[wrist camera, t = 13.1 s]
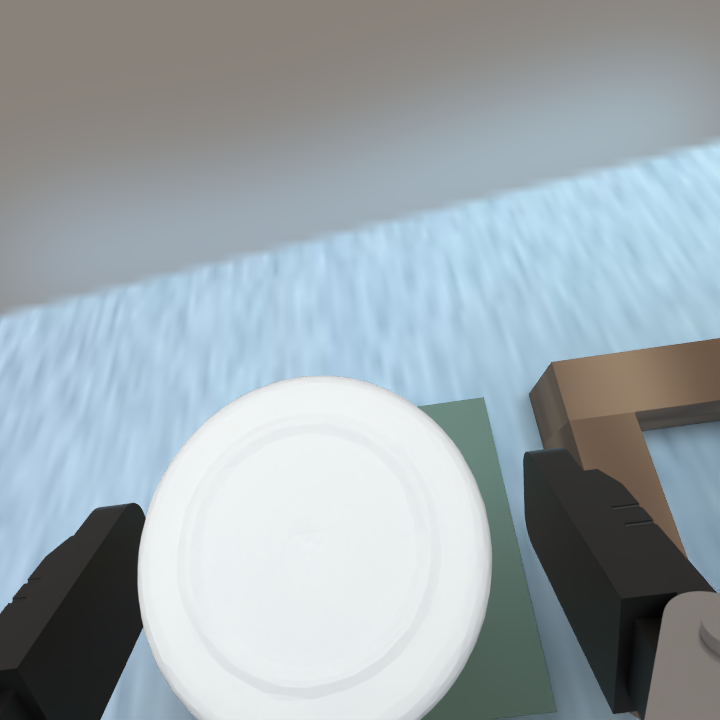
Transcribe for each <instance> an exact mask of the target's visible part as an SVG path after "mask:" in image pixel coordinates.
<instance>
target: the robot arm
mask: <svg viewBox="0 0 720 720" xmlns="http://www.w3.org/2000/svg"><path fill="white" fill-rule="evenodd" d="M523 467H524V506H525V520H526V526H527V530H528V534H529V538H530V541H531V543H532V546H533V548H534V550H535V552H536V554H537V556H538V558H539V560H540V562H541V565H542V567H543V569H544V571H545V573H546V575H547V577H548V579H549V581H550V583H551V585H552V587H553V590H554V592H555V594H556V596H557V598H558V600H559V602H560V604H561V606H562V608H563V610H564V612H565V615H566V617H567V619H568V621H569V623H570V625H571V627H572V629H573V631H574V633H575V635H576V637H577V640H578V642H579V644H580V646H581V648H582V650H583V652H584V654H585V656H586V658H587V660H588V662H589V665H590V667H591V669H592V671H593V673H594V675H595V677H596V679H597V681H598V683H599V685H600V687H601V690H602V692H603V694H604V696H605V698H606V700H607V702H608V704H609V706H610V708H611V710H612V712H613V714H616V713H625V712H635V711H637V712H638V714H639V716H640V718H641V720H720V594H719V593H717V592H716V591H715V590H714V589H713V588H712V587H711V586H710V585H709V583H708V582H707V581H706V580H705V579H704V578H703V576H702V575H701V574H700V573H699V572H698V571H697V570H696V568H695V567H694V566H693V565H692V564H691V563H690V561H689V560H688V559H687V558H686V557H685V556H684V554H683V553H682V552H681V551H680V550H679V549H678V548H677V546H676V545H675V544H674V543H673V542H672V541H671V539H670V538H669V537H668V536H667V535H666V534H665V532H664V531H663V530H662V529H661V528H660V527H659V526H658V524H654V521H653V519H652V517H651V516H650V515H649V514H648V513H647V512H646V510H645V509H644V508H643V507H640V506H639V502H638V501H637V500H636V499H635V498H634V497H633V495H632V494H631V493H630V492H629V491H628V490H627V488H626V487H625V486H624V485H623V484H622V483H620V482H619V481H617V480H615V479H614V478H612V477H610V476H609V475H607V474H605V473H604V472H602V471H600V470H599V469H592V470H584V471H583V469H582V468H581V467H580V466H579V464H578V463H577V462H576V460H575V459H574V458H573V456H572V455H571V454H570V453H569V451H568V450H567V449H566V448H564V447H560V448H552V449H545V450H537V451H530V452H526V453H525V454H524V459H523ZM145 520H146V518H145V515H144V513H143V511H142V509H141V507H140V506H139V505H138V504H136V503H130V504H122V505H115V506H107V507H100V508H96V509H95V510H94V511H93V512H92V513H91V514H90V515H89V516H88V518H87V519H86V520H85V522H84V523H83V524H82V526H81V527H80V528H79V529H78V531H77V532H76V533H75V535H74V536H71V537H69V538H68V539H67V540H66V541H64V542H63V543H62V544H61V545H60V546H58V547H57V548H56V549H55V550H53V551H52V552H51V553H50V554H48V555H47V556H46V557H45V558H44V560H43V561H42V562H41V563H40V565H39V566H38V567H37V568H36V570H35V571H34V572H33V573H32V575H31V576H30V577H29V578H28V583H27V584H24V585H23V586H22V587H21V588H20V590H19V591H18V592H17V593H16V595H15V596H14V597H13V598H12V599H13V602H12V603H8V605H7V606H6V607H5V608H4V610H3V611H2V612H1V613H0V720H100V719H101V717H102V715H103V713H104V711H105V708H106V706H107V704H108V702H109V700H110V698H111V695H112V693H113V691H114V689H115V687H116V685H117V682H118V680H119V678H120V676H121V674H122V672H123V669H124V667H125V665H126V663H127V661H128V659H129V656H130V654H131V652H132V650H133V648H134V646H135V643H136V641H137V639H138V637H139V635H140V633H141V630H142V628H143V622H142V618H141V611H140V604H139V596H138V556H139V547H140V541H141V535H142V531H143V528H144V524H145Z"/></svg>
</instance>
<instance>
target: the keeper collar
mask: <svg viewBox="0 0 720 720" xmlns="http://www.w3.org/2000/svg"><path fill="white" fill-rule="evenodd" d="M529 395H530V399H531V403H532V406H533V410H534V414H535V417H536V421H537V425H538V428H539V432H540V436H541V439H542V443H543V446H544V450H545V449H552V448H560V447H564V448H566V449H567V450H568V451H569V453H570V454H571V455H572V456H573V458H574V459H575V460H576V462H577V463H578V464H579V466H580V467H581V468H582V469H583V471H584V470H592V469H599V470H600V471H602V472H604V473H605V474H607V475H609V476H610V477H612V478H614V479H615V480H617V481H619V482H620V483H622V484H623V485H624V486H625V487H626V488H627V490H628V491H629V492H630V493H631V494H632V495H633V497H634V498H635V499H636V500H637V501H638V502H639V506H640V507H643V508H644V509H645V510H646V512H647V513H648V514H649V515H650V516H651V517H652V519H653V521H654V524H658V526H659V527H660V528H661V529H662V530H663V531H664V532H665V534H666V535H667V536H668V537H669V538H670V539H671V541H672V542H673V543H674V544H675V545H676V546H677V548H678V549H679V550H680V551H681V552H682V553H683V554H684V556H685V557H686V558H687V556H686V553H685V550H684V547H683V545H682V542H681V539H680V536H679V534H678V531H677V528H676V525H675V523H674V520H673V517H672V514H671V511H670V509H669V506H668V503H667V500H666V498H665V495H664V492H663V489H662V487H661V484H660V481H659V478H658V476H657V473H656V470H655V467H654V465H653V462H652V459H651V456H650V454H649V451H648V448H647V445H646V443H645V440H644V437H643V434H642V432H641V431H645V430H653V429H660V428H667V427H675V426H682V425H690V424H697V423H704V422H712V421H719V420H720V338H718V339H711V340H704V341H697V342H690V343H683V344H676V345H669V346H662V347H655V348H648V349H641V350H634V351H627V352H620V353H613V354H606V355H599V356H591V357H584V358H577V359H570V360H563V361H556V362H551V364H550V365H549V366H548V368H547V369H546V371H545V372H544V374H543V375H542V376H541V378H540V379H539V381H538V382H537V383H536V385H535V386H534V388H533V389H532V391H531V392H530V393H529ZM687 559H688V558H687ZM630 713H631V714H633V715H634V716H636V717H637V718H639V719H640V720H641V718H640V716H639V714H638V712H637V711H635V712H630Z"/></svg>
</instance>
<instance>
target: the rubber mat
mask: <svg viewBox="0 0 720 720" xmlns="http://www.w3.org/2000/svg"><path fill="white" fill-rule="evenodd" d="M418 408H419V409H420V410H422V411H423V412H425V413H426V414H427V415H428V416H429V417H430V418H432V419H433V420H434V421H435V422H436V423H437V424H438V425H439V426H440V427H441V428H442V429H443V430H444V432H445V433H446V434H447V435H448V436H449V437H450V439H451V440H452V441H453V442H454V444H455V445H456V446H457V448H458V449H459V450H460V452H461V454H462V455H463V457H464V459H465V461H466V463H467V465H468V467H469V468H470V470H471V472H472V474H473V476H474V478H475V480H476V482H477V485H478V488H479V491H480V493H481V496H482V499H483V502H484V504H485V509H486V514H487V519H488V524H489V529H490V537H491V545H492V577H491V586H490V594H489V599H488V604H487V609H486V615H485V619H484V622H483V625H482V627H481V630H480V633H479V636H478V639H477V642H476V644H475V646H474V648H473V650H472V652H471V654H470V656H469V658H468V660H467V662H466V664H465V666H464V668H463V670H462V671H461V673H460V675H459V676H458V678H457V680H456V681H455V682H454V684H453V685H452V686H451V688H450V689H449V690H448V692H447V693H446V694H445V695H444V697H443V698H442V699H441V700H440V701H439V702H438V703H437V704H436V705H435V706H434V707H433V708H432V709H431V711H430V712H428V713H427V714H426V715H425V716H424V717H423V718H422V719H421V720H489V719H498V718H507V717H515V716H524V715H533V714H542V713H551V712H557V710H556V706H555V702H554V697H553V693H552V689H551V684H550V680H549V676H548V672H547V667H546V663H545V659H544V654H543V650H542V646H541V642H540V637H539V633H538V629H537V624H536V620H535V616H534V611H533V607H532V603H531V599H530V594H529V590H528V586H527V581H526V577H525V573H524V569H523V564H522V560H521V556H520V551H519V547H518V543H517V538H516V534H515V530H514V526H513V521H512V517H511V513H510V508H509V504H508V500H507V496H506V491H505V487H504V483H503V478H502V474H501V470H500V465H499V461H498V457H497V453H496V448H495V444H494V440H493V435H492V431H491V427H490V423H489V418H488V414H487V410H486V405H485V401H484V397H483V398H476V399H469V400H462V401H455V402H448V403H441V404H433V405H426V406H419V407H418Z"/></svg>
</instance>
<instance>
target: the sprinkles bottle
mask: <svg viewBox="0 0 720 720" xmlns="http://www.w3.org/2000/svg"><path fill="white" fill-rule="evenodd" d="M491 577H492V545H491V537H490V529H489V524H488V519H487V514H486V509H485V504H484V502H483V499H482V496H481V493H480V491H479V488H478V485H477V482H476V480H475V478H474V476H473V474H472V472H471V470H470V468H469V467H468V465H467V463H466V461H465V459H464V457H463V455H462V454H461V452H460V450H459V449H458V448H457V446H456V445H455V444H454V442H453V441H452V440H451V439H450V437H449V436H448V435H447V434H446V433H445V432H444V430H443V429H442V428H441V427H440V426H439V425H438V424H437V423H436V422H435V421H434V420H433V419H432V418H430V417H429V416H428V415H427V414H426V413H425V412H423V411H422V410H420V409H419V408H418V407H416V406H415V405H414V404H412V403H411V402H409V401H408V400H406V399H405V398H403V397H401V396H399V395H397V394H395V393H393V392H391V391H389V390H387V389H384V388H382V387H379V386H377V385H374V384H371V383H367V382H364V381H360V380H355V379H351V378H347V377H338V376H306V377H299V378H293V379H288V380H283V381H279V382H275V383H272V384H269V385H267V386H264V387H261V388H258V389H256V390H253V391H251V392H249V393H247V394H245V395H243V396H241V397H239V398H238V399H236V400H234V401H232V402H231V403H229V404H228V405H226V406H225V407H224V408H222V409H221V410H219V411H218V412H217V413H216V414H214V415H213V416H212V417H211V418H209V419H208V420H207V421H206V422H205V423H204V424H203V425H202V426H201V427H200V428H199V429H198V430H197V431H196V432H195V433H194V434H193V435H192V436H191V437H190V438H189V439H188V440H187V442H186V443H185V444H184V445H183V446H182V448H181V449H180V450H179V452H178V453H177V455H176V456H175V457H174V459H173V460H172V461H171V463H170V465H169V466H168V468H167V470H166V471H165V473H164V475H163V477H162V478H161V480H160V483H159V485H158V487H157V489H156V491H155V493H154V495H153V498H152V500H151V503H150V506H149V509H148V513H147V516H146V520H145V524H144V528H143V531H142V535H141V541H140V547H139V556H138V596H139V604H140V611H141V618H142V622H143V626H144V631H145V635H146V638H147V640H148V642H149V645H150V648H151V651H152V654H153V656H154V658H155V660H156V662H157V665H158V667H159V669H160V671H161V673H162V674H163V676H164V677H165V679H166V680H167V682H168V684H169V685H170V687H171V688H172V690H173V691H174V693H175V694H176V696H177V697H178V698H179V699H180V701H181V702H182V703H183V704H184V705H185V706H186V708H187V709H188V710H189V711H190V712H191V713H192V714H193V715H194V716H195V717H196V718H197V719H198V720H421V719H422V718H423V717H424V716H425V715H426V714H427V713H428V712H430V711H431V709H432V708H433V707H434V706H435V705H436V704H437V703H438V702H439V701H440V700H441V699H442V698H443V697H444V695H445V694H446V693H447V692H448V690H449V689H450V688H451V686H452V685H453V684H454V682H455V681H456V680H457V678H458V676H459V675H460V673H461V671H462V670H463V668H464V666H465V664H466V662H467V660H468V658H469V656H470V654H471V652H472V650H473V648H474V646H475V644H476V642H477V639H478V636H479V633H480V630H481V627H482V625H483V622H484V619H485V615H486V609H487V604H488V599H489V594H490V586H491Z"/></svg>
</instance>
